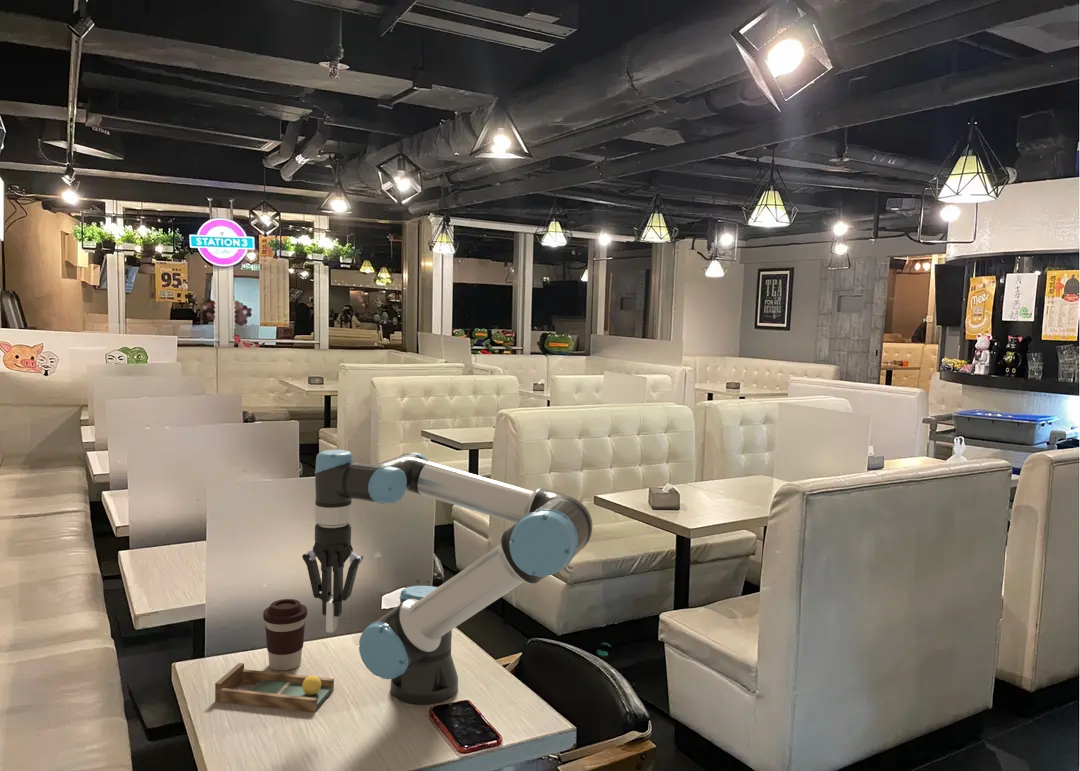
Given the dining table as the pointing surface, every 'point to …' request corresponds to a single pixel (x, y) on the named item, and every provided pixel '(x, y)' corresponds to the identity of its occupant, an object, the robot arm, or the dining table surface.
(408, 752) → the dining table surface
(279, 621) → the coffee cup
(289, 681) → the tray
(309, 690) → the ball
